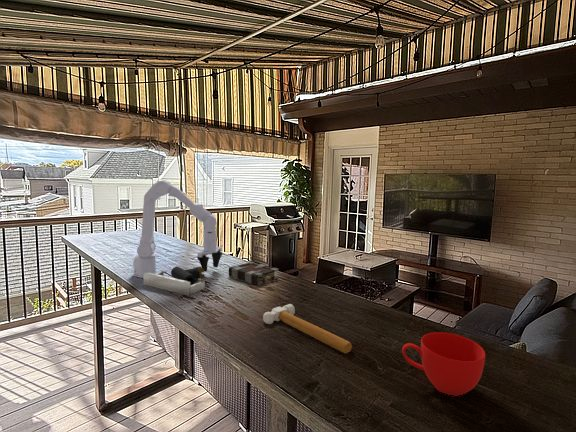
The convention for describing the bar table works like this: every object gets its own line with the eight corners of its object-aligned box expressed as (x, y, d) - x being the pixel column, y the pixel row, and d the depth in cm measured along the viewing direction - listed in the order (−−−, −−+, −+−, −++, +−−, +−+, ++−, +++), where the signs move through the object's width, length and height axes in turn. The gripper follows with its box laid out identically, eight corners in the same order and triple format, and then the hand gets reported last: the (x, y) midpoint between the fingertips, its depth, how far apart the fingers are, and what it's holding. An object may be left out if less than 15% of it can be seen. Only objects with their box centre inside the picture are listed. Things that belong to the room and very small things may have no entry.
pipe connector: (195, 262, 157) (209, 270, 145) (195, 273, 157) (210, 282, 146) (170, 267, 150) (183, 275, 138) (171, 278, 150) (184, 288, 139)
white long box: (143, 284, 141) (143, 272, 140) (162, 278, 149) (161, 267, 149) (187, 295, 129) (187, 283, 128) (204, 288, 137) (204, 276, 137)
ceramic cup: (399, 363, 86) (402, 326, 84) (473, 376, 81) (477, 337, 79) (401, 395, 73) (404, 352, 72) (488, 412, 68) (493, 366, 67)
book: (251, 270, 165) (251, 260, 164) (290, 282, 148) (290, 271, 148) (227, 277, 154) (227, 266, 153) (266, 290, 137) (267, 278, 137)
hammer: (360, 348, 94) (287, 312, 116) (361, 334, 94) (287, 302, 115) (333, 364, 86) (260, 323, 108) (334, 349, 86) (260, 311, 107)
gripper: (205, 244, 148) (206, 274, 150) (226, 239, 161) (226, 266, 163) (193, 242, 152) (194, 271, 153) (215, 237, 164) (215, 264, 166)
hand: (210, 268), depth 158 cm, fingers open, 7 cm apart
